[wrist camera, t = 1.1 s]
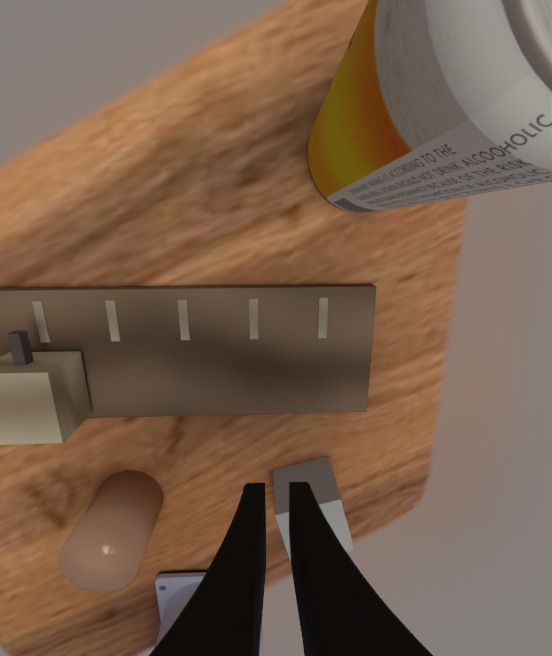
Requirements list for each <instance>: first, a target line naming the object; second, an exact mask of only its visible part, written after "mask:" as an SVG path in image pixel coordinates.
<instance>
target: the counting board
mask: <svg viewBox="0 0 552 656" xmlns="http://www.w3.org/2000/svg"><path fill="white" fill-rule="evenodd" d="M375 297H376V286H374V285H372V284H316V285H224V286H133V287H42V288H0V357H1V356H3V355H5V354H7V353H9V352H11V350H10V346H9V342H8V338H7V334H8V333H10V332H13V331H17V330H27V332H28V337H29V341H30V346H31V350H32V352H65V351H80V352H81V358H82V363H83V369H84V374H85V380H86V385H87V391H88V396H89V402H90V407H91V414H90V415H89V416H88V417H87V418H103V417H148V416H193V415H238V414H284V413H329V412H366V411H367V399H368V386H369V373H370V361H371V348H372V335H373V322H374V310H375Z"/></svg>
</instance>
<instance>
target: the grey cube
mask: <svg viewBox="0 0 552 656" xmlns="http://www.w3.org/2000/svg"><path fill="white" fill-rule="evenodd" d="M273 477H274V505H275V517H276V520H277V523H278V526H279V529H280V532H281V535H282V538H283V541H284V543H285V546H286V549H287V552H288V555H289V558H290V561H291V555H290V539H289V482H308V483H309V484H310V486H311V489H312V491H313V494H314V496H315V498H316V500H317V502H318V504H319V506H320V508H321V510H322V512H323V514H324V516H325V518H326V520H327V521H328V523H329V525H330V526H331V528H332V530H333V531H334V533H335V535H336V537H337V538H338V540H339V541H340V543H341V545H342V546H343V548H344V549H345V551H346V552H347V551H351V550H354V547H353V543H352V539H351V536H350V532H349V528H348V525H347V521H346V517H345V514H344V510H343V506H342V502H341V499H340V495H339V492H338V488H337V485H336V481H335V478H334V474H333V470H332V467H331V463H330V460H329V456H327V457H323V458H319V459H315V460H311V461H307V462H303V463H299V464H295V465H291V466H287V467H283V468H279V469H275V470H273Z"/></svg>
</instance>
